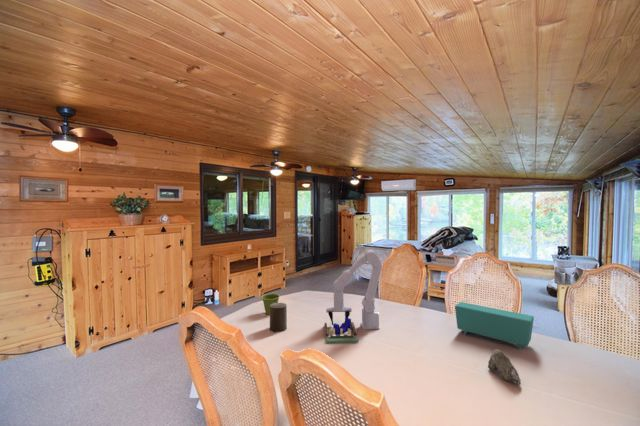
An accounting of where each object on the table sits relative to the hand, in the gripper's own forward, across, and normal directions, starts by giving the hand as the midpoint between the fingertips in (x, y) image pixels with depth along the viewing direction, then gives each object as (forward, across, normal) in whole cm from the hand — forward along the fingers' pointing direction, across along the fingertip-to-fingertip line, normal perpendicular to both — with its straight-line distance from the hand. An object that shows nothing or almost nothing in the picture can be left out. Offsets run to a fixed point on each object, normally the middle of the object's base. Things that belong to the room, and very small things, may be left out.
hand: (339, 324), depth 170 cm
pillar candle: (+2, +35, +1) cm, 35 cm away
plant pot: (+2, +43, -24) cm, 49 cm away
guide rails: (+1, 0, +6) cm, 7 cm away
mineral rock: (+2, -62, +54) cm, 82 cm away
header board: (+1, 0, +18) cm, 18 cm away
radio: (+2, -78, +20) cm, 81 cm away
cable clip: (+2, -1, +7) cm, 7 cm away
